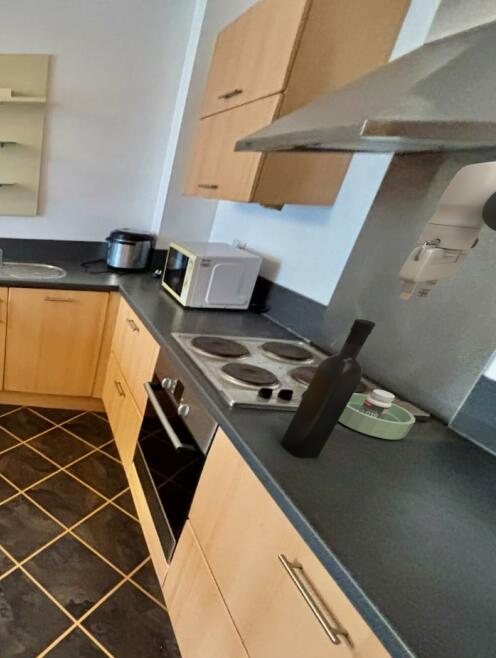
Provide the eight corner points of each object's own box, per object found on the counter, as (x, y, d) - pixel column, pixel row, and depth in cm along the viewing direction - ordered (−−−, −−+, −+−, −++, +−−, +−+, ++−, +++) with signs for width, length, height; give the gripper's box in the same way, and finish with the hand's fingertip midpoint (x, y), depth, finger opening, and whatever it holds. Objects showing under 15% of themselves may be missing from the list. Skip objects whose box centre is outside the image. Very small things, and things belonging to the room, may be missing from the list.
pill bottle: (350, 418, 104) (366, 389, 100) (361, 415, 106) (377, 387, 102) (371, 429, 100) (390, 399, 96) (382, 425, 102) (400, 396, 98)
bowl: (415, 433, 101) (426, 416, 98) (386, 447, 95) (397, 429, 92) (347, 404, 112) (356, 388, 110) (317, 415, 106) (326, 398, 104)
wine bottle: (277, 442, 94) (339, 315, 80) (301, 442, 94) (366, 316, 80) (295, 458, 89) (364, 326, 75) (320, 458, 89) (393, 327, 75)
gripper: (444, 242, 88) (409, 305, 95) (482, 240, 97) (447, 298, 103) (408, 237, 93) (376, 297, 100) (447, 236, 102) (415, 291, 108)
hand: (413, 297), depth 101 cm, fingers open, 8 cm apart
